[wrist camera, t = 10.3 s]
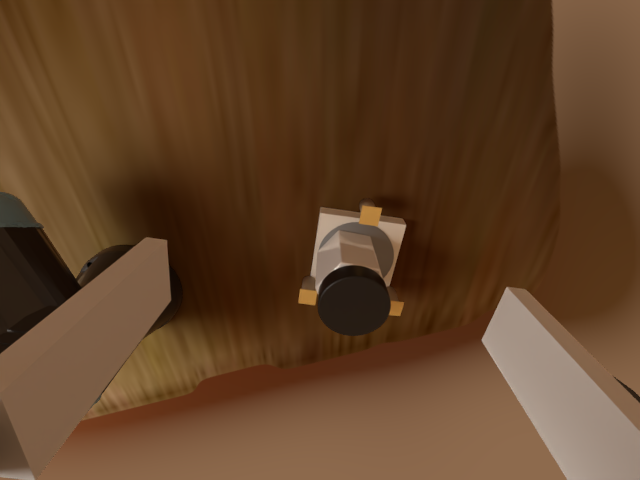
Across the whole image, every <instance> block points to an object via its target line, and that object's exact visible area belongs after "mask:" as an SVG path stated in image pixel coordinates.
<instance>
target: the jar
mask: <svg viewBox="0 0 640 480" xmlns="http://www.w3.org/2000/svg"><path fill="white" fill-rule="evenodd" d="M315 289H316V291H317V293H318V313H319V316H320V318H321V320H322V321H323V323H324V324H325V325H326V326H327V327H328V328H330V329H331V330H333V331H335V332H337V333H340V334H343V335H349V336H358V335H364V334H367V333H370V332H372V331H374V330H376V329H377V328H379V327H380V326H381V325H382V324H383V323H384V322H385V321H386V319H387V317H388V315H389V313H390V309H391V300H390V296H389V293H388V290H387V287H386V284H385V282H384V280H383V277H382V273H381V270H380V267H379V263H378V260H377V257H376V253H375V250H374V247H373V243H372V240H371V237H370V236H367V235H362V234H356V233H351V232H346V231H340V230H338V231H337V232H336V233H335V234H334V235H333V236H332V237H331V238H330V239H329V240H328V241H327V242H326V243H325V244H324V245H323V246H322V247H321V248H320V249H319V250H318V252H317V266H316V282H315Z"/></svg>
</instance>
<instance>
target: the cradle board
mask: <svg viewBox="0 0 640 480" xmlns="http://www.w3.org/2000/svg"><path fill="white" fill-rule="evenodd" d="M359 208H360V211H361V213H360V212H353V211H346V210H339V209H332V208H325V207H321V208H320V215H319V222H318V228H317V235H316V242H315V248H314V255H313V262H312V268H311V275H310V276H306V277H304V278H303V282H302V289H300V294H299V301H298V303H300V304H308V305H315V303H316V296H317V291H315V282H316V266H317V252H318V250H319V249H320V248H321V247H322V246H323V245H324V244H325V243H326V242H327V241H328V240H329V239H330V238H331V237H332V236H333V235H334V234H335V233H336V232H337V231H338V230H340V231H346V232H351V233H356V234H362V235H367V236H370V237H371V240H372V243H373V247H374V250H375V253H376V257H377V260H378V263H379V267H380V270H381V273H382V277H383V280H384V282H385V284H386V287H387V290H388V293H389V296H390V300H391V309H390V313H389V315H394V316H400V315H401V311H402V308H403V305H404V302H399V300H398V297H397V294H396V291H395V289H394V288H393V287H391V286H390V282H391V279H392V275H393V271H394V268H395V264H396V261H397V257H398V253H399V250H400V246H401V243H402V239H403V235H404V232H405V228H406V223H405V222H404V220H403V218H396V217H389V216H382V215H381V211H382V208H378V207H375V205H374V202H373V201H372V200H371V199H369V198H365V199H363V200H361V201H360V203H359Z"/></svg>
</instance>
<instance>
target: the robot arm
mask: <svg viewBox="0 0 640 480" xmlns="http://www.w3.org/2000/svg"><path fill="white" fill-rule="evenodd" d="M42 228H44V227H43V225H42V224H40V223H37V221H36V220H35V219H34V217H33V216H32V215H31V213H30V212H29V211H28V209H27V208H26V207H25V205H24V204H23V203H22V201H21V200H20V199H18V198H17V197H15V196H14V195H12V194H9V193H5V192H0V477H5V478H15V479H24V480H36V479H37V478H38V477H39V475H40V474H41V473H42V471H43V470H44V469H45V467H46V466H47V465H48V463H49V462H50V461H51V459H52V458H53V457H54V455H55V454H56V453H57V451H58V450H59V449H60V447H61V446H62V445H63V443H64V442H65V440H66V439H67V438H68V437H69V435H70V434H71V433H72V431H73V430H74V429H75V427H76V426H77V425H78V423H79V422H80V421H81V419H82V418H83V417H84V415H85V414H86V413H87V412H88V411H89V410H90V408H91V407H92V406H93V405H94V404H95V403H97V402H98V401H99V400H100V398H101V395H102V393H103V392H104V391H105V389H106V388H107V387H108V385H109V384H110V382H111V381H112V380H113V378H114V377H115V376H116V374H117V373H118V372H119V370H120V369H121V367H122V366H123V365H124V363H125V362H126V361H127V359H128V358H129V356H130V355H131V354H132V352H133V351H134V350H135V348H136V347H137V346H138V344H139V343H140V342H141V340H142V339H144V338H145V337H147V336H148V335H149V334H151V333H152V332H154V331H155V330H157V329H159V328H161V327H162V326H164V325H165V324H166V323H168V322H169V321H170V320H171V319H172V317H173V316H174V314H175V313H176V312H177V310H178V309H179V307H180V304H181V301H182V287H181V284H180V281H179V279H178V277H177V275H176V273H175V272H174V271H173V269H172V268H171V267H170V266H169V263H168V248H167V240H163V239H156V238H149V237H146V238H144V239H143V240H142V241H141V242H139V243H138V244H137V245H136V246H126V245H120V246H113V247H109V248H106V249H104V250H102V251H101V252H99V253H98V254H96V255H95V256H94V257H92V258H91V259H90V260H88V261H87V263H86V264H85V265H84V266H83V268H82V269H81V271H80V273H79V275H78V276H77V278H76V279H75V277H74V276H73V274H72V273H71V271H70V270H69V268H68V267H67V265H66V264H65V262H64V261H63V259H62V257H61V256H60V254H59V253H58V251H57V250H56V248H55V247H54V245H53V244H52V242H51V241H50V239H49V238H48V236H47V235H46V233H45V232H44V230H43V229H42ZM482 342H483V344H484V346H485V347H486V349H487V350H488V352H489V354H490V355H491V357H492V358H493V360H494V362H495V363H496V365H497V366H498V368H499V370H500V371H501V373H502V374H503V376H504V378H505V379H506V381H507V383H508V384H509V386H510V388H511V389H512V391H513V392H514V394H515V396H516V397H517V399H518V400H519V402H520V404H521V405H522V407H523V409H524V410H525V412H526V414H527V415H528V417H529V418H530V420H531V422H532V423H533V425H534V426H535V428H536V430H537V431H538V433H539V435H540V436H541V438H542V439H543V441H544V443H545V444H546V446H547V447H548V449H549V451H550V452H551V454H552V456H553V457H554V459H555V460H556V462H557V464H558V465H559V467H560V468H561V470H562V472H563V473H564V475H565V476H566V478H567V480H640V397H639V396H638V395H637V394H636V393H635V392H634V391H633V390H631V389H630V388H628V387H627V386H626V385H624V384H623V383H622V382H620V381H619V380H618V379H616V378H615V377H613V376H612V375H611V374H610V373H609V372H608V371H607V370H606V369H605V368H604V367H603V366H602V365H601V364H600V363H599V362H598V361H597V360H596V359H595V358H594V357H593V356H592V355H591V354H590V353H589V352H588V351H587V350H586V349H585V348H584V347H583V346H582V345H581V344H580V343H579V342H578V341H577V340H576V339H575V338H574V337H573V336H572V335H571V334H570V333H569V332H568V331H567V330H566V329H565V328H564V327H563V326H562V325H561V324H560V323H559V322H558V321H557V320H556V319H555V318H554V317H553V316H552V315H551V314H550V313H549V312H548V311H547V310H546V309H545V308H544V307H543V306H542V305H541V304H540V303H539V302H538V301H537V300H536V299H535V298H534V297H533V296H532V295H531V294H530V293H529V292H528V291H527V290H526V289H519V288H512V287H506V290H505V292H504V294H503V296H502V298H501V300H500V302H499V304H498V306H497V309H496V311H495V313H494V315H493V317H492V320H491V321H490V323H489V326H488V328H487V330H486V332H485V334H484V336H483V338H482Z"/></svg>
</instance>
